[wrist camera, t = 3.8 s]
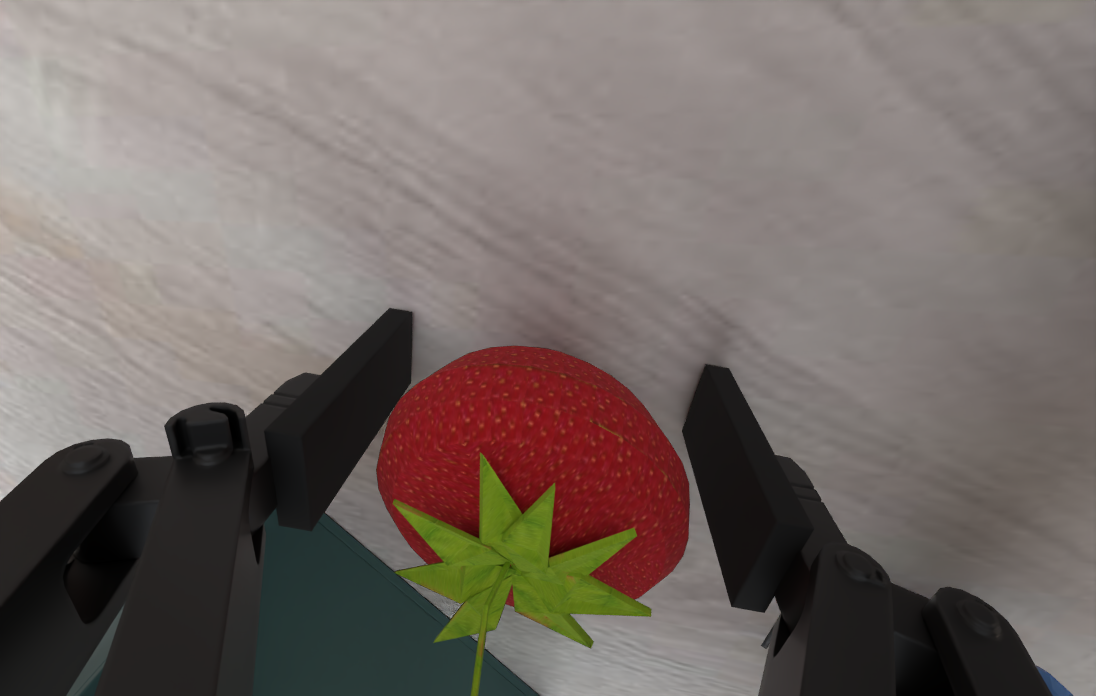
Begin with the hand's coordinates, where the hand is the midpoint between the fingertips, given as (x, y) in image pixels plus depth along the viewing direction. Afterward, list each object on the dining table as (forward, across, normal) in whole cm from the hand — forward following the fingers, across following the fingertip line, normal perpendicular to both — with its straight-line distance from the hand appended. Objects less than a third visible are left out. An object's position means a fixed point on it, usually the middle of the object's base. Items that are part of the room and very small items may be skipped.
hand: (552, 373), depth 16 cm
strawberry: (0, 0, 0) cm, 0 cm away
